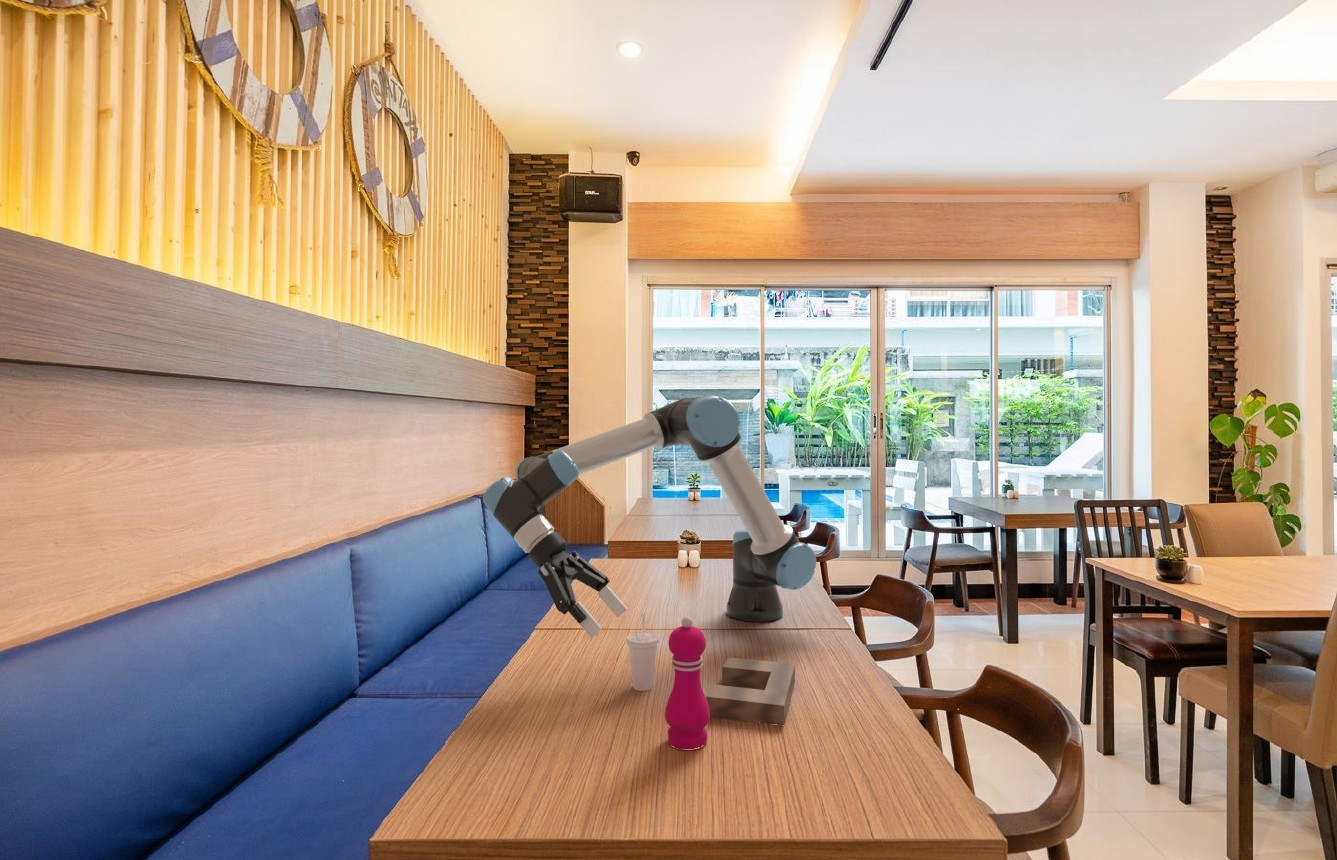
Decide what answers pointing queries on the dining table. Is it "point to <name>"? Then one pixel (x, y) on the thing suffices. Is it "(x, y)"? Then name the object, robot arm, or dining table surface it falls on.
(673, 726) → the pepper mill
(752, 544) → the robot arm
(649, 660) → the smoothie
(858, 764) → the dining table surface
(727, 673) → the notched board
